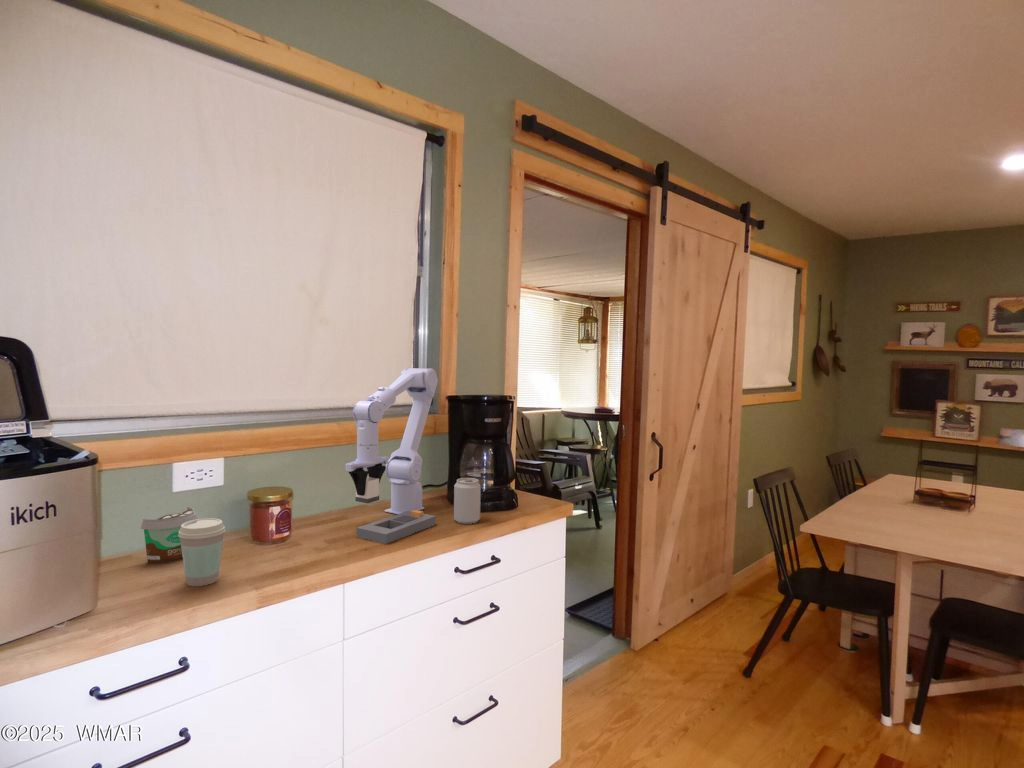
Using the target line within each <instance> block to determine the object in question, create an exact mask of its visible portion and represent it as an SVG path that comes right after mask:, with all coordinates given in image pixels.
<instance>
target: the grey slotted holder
mask: <svg viewBox="0 0 1024 768" xmlns="http://www.w3.org/2000/svg"><path fill="white" fill-rule="evenodd" d="M436 517H437V515H431V514H426V513H424V511H423V510H419V511H418V510H413V511H406V512H403V513H400V514H394V515H391V516H387V517H385V518H381V519H379V520H376V521H373V522H370V523H367V524H364V525H361V526H358V527H356V538H357V537H358V539H361V538H363V539H362V540H366V539H368V540H367V541H370V540H372V541H371V542H374V541H376V542H375V543H378V542H379V544H384V545H388V544H391V543H393V542H395V540H396V541H398V540H400V538H401V539H403V538H405V537H409V536H410V535H414V534H416V533H418V531H419V532H421V531H425V530H426V528H427V529H429V528H432V527H434V526H436V525H437V523H436V522H437V518H436ZM431 526H432V527H431ZM415 532H416V533H415ZM413 533H414V534H413Z"/></svg>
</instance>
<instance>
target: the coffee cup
mask: <svg viewBox="0 0 1024 768" xmlns="http://www.w3.org/2000/svg"><path fill="white" fill-rule="evenodd" d="M225 532H226V526H225V525H224V522H223V520H222V519H220V518H213V517H212V518H211V517H210V518H197V519H196V520H192V521H188V522H185V523H183V524H182V525H181V528H180V530H179V534H178V537H180V542H181V549H182V556H183V559H182V561H183V562H182V564H183V570H184V576H185V584H186V585H187V586H190V587H203V585H204V586H207V585H208V584H209V585H211V584H214V583H216V582H217V581H218V580H219V577H220V568H221V561H222V560H221V559H222V551H223V542H224V533H225ZM215 581H216V582H215ZM209 585H208V586H209Z"/></svg>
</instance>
